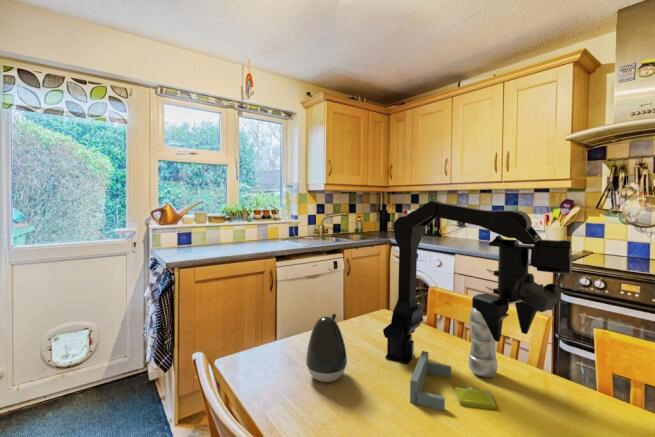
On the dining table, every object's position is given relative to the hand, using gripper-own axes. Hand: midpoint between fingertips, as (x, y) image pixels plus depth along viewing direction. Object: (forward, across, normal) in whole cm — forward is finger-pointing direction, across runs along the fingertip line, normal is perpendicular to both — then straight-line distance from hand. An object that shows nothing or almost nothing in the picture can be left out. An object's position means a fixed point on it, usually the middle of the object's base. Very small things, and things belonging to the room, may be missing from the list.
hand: (511, 337), depth 71 cm
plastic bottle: (+14, +2, +9) cm, 16 cm away
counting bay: (+14, -14, +10) cm, 21 cm away
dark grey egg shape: (+14, -34, +25) cm, 44 cm away
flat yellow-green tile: (+14, -8, +3) cm, 17 cm away
